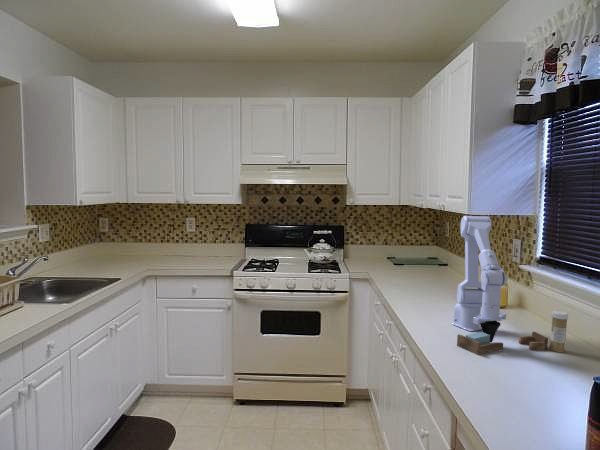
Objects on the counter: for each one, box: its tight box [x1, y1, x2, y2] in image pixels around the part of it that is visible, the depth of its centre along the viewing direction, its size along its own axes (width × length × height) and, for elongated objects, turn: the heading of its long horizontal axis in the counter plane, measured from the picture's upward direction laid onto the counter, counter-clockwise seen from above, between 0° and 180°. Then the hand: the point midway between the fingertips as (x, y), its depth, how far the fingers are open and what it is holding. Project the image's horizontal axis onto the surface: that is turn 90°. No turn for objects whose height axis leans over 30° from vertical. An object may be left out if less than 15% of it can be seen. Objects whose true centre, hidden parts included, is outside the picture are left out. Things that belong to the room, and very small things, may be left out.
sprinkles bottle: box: [549, 310, 569, 353], centre depth 142 cm, size 5×5×14 cm
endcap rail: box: [456, 333, 504, 356], centre depth 143 cm, size 11×11×4 cm
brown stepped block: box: [518, 331, 549, 351], centre depth 146 cm, size 6×6×4 cm
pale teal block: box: [465, 331, 491, 345], centre depth 143 cm, size 4×8×4 cm, turn 118°
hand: (488, 341), depth 146 cm, fingers closed
